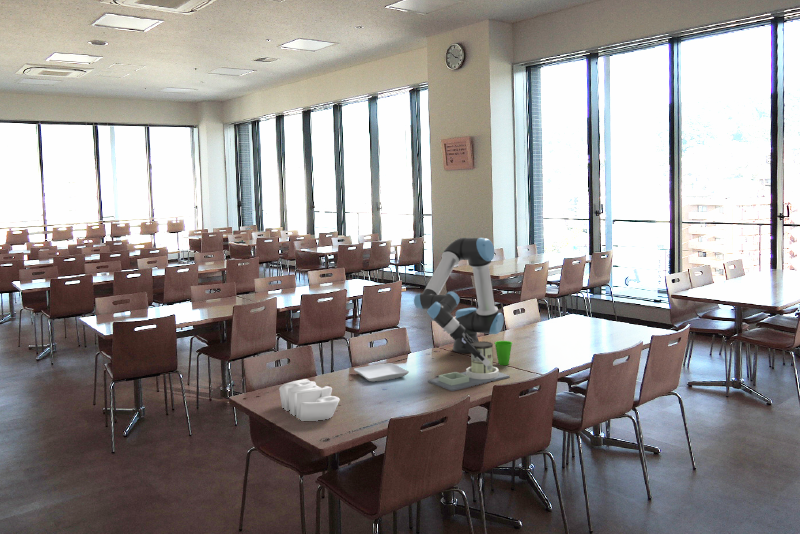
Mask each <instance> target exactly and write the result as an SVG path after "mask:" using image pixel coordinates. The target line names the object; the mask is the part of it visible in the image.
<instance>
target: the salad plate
mask: <svg viewBox="0 0 800 534" xmlns="http://www.w3.org/2000/svg"><path fill="white" fill-rule="evenodd" d="M353 371H354V372H355V373H356V374H358V375H359V376H361V377H362V378H364V379H366V381H369V382H373V383H375V381H377V382H381V381H382V382H384V381H389V379H390V380H394V379H395V378H396V379H400V378H402V377H405V376H406V375H408V374H409V373H410V372H409V371H408V370H407V369H404V368H402V366H401V367H400V366H399V365H397V364H395V363H394V362H389V363H381V364H373V365H367V366H361V367H355V368H353Z"/></svg>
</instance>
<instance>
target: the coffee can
mask: <svg viewBox="0 0 800 534" xmlns="http://www.w3.org/2000/svg"><path fill="white" fill-rule="evenodd" d="M472 344H473V345H474V347H475V348H476V349H477V350H478V351H479V352H480V353H481V354H483V355H484V356H485V357H486V358H487V359H488V360H489V361H490V362H491V363H490V364H489V365H488V366H487V367H486V366H485V365H484V364H483V363H482V362H481V361H480V360H479V359H478V358H477V357H476V358H474V355H473V354H472V353H470V356H471V357H470V358H471V359H470V360H471V367H472V372H473V373H491V372H493V367H494V360H493V356H494V355H493V345H494V344H493V343H492V342H491V341H483V340H482V341H479V342H473V343H472Z"/></svg>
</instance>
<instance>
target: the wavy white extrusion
mask: <svg viewBox="0 0 800 534" xmlns="http://www.w3.org/2000/svg"><path fill="white" fill-rule="evenodd" d="M278 389H279V390H278V391H279V395H280V396H279V397H280V403H281V408H284V409H283V410H286V411H289V410H290V411H289V415H291V414H292V415H293V416H295V415H296V416H295V418H296V419H297V418H299V419H300V420H301V421H316V422H319V421H318V420H323V421H326V420H325V419H327V420H330V419H332V418H333V416H334V413H335V411H336V409H337V407H338V404H339V402H340V401H341V399H340V398H339V396H335V395H332V391H333V388H332V387H331V386H328V385H325V386H323V387H321V386H318V385H317V383H316V381H312V380H311V381H310V379H308V378H303V379H299V380H293V381H290V382H287V383H284V384H282V385H281V386H280V387H278ZM286 411H285V412H286ZM292 415H291V416H292ZM293 416H292V417H293ZM331 417H332V418H331ZM329 418H330V419H329ZM299 419H298V420H299ZM300 420H299V421H300ZM301 421H300V422H301Z"/></svg>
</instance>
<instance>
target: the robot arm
mask: <svg viewBox="0 0 800 534" xmlns="http://www.w3.org/2000/svg"><path fill="white" fill-rule="evenodd" d="M494 256H495V247H494V244H493V242H492V241H491V240H490V239H489V238H484V237H460V238H457V239H455V240H454V241H452V242H451V243H449V244H448V245H447V246H446V248H445V249H444V250H443V252H442V254H441V260H440V261H439V263H438V265H437V267H436V269H435V270H434V272H433V274H432V276H431V277H430V279H429V281H428V282H427V285H426V286H425V288H424V290H423V291H422V293H417V294H415V296H414V298H413V303H414V304H413V305H414V306H415V308H417V309H419V310H427V311H426V313H427V315H428V316H429V317H430V318H431V319H432V320H433V321H434V322H435V323H436V324H437V325H439V326H440V328H441V329H443V330H442V331H443V332H446V333H447V334H448V335H449V336H450V337H451V338H452V339H453V340H454V343H453V346H452V351H454V352H456V353H461V354H469V353H470V354H471V353H472V354H473V355H474V358H476V357H477V358H478V359H479V360H480V361H481V362H482V363H483V364H484V365H485V366H486V367H487V366H488V365H489V364H490V363H491V362H490V361H489V360H488V359H487V358H486V357H485V356H484V355H483V354H481V353H480V352H479V351H478V350H477V349H476V348H475V347H474V345H473V344H472V343H473V342H479V338H478V334H487V335H498V334H499V333H500V332H501V331H502V328H503V326H504V315H503V313H501V312H499V309H498V306H496V304H495V300H494V291H493V286H492V285H493V284H492V279H491V271H490V264H492V260H493V259H494V258H495V257H494ZM461 261H467V262H468V265H469V266H470V267H471V268H472V272H473V273H472V274H473V279H474V285H475V293H476V299H477V305H478V308H476V307H467V308H460V309H457V310H456V311H455V317H454V316H453V314H452V313H453V312H454V310H455V309H456V308H457V307H458V305H459V303H460V297H459V295H458V294H457V292H454V291H448V292H447V293H446V294H445V295H444V294H441V292H442V290H443V288H444V286H445V284H446V282H447V281H448V279H449V277H450V275H451V273H452V272H453V270H454V268H455V266H457V265H458V264H459V263H460V262H461Z"/></svg>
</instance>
